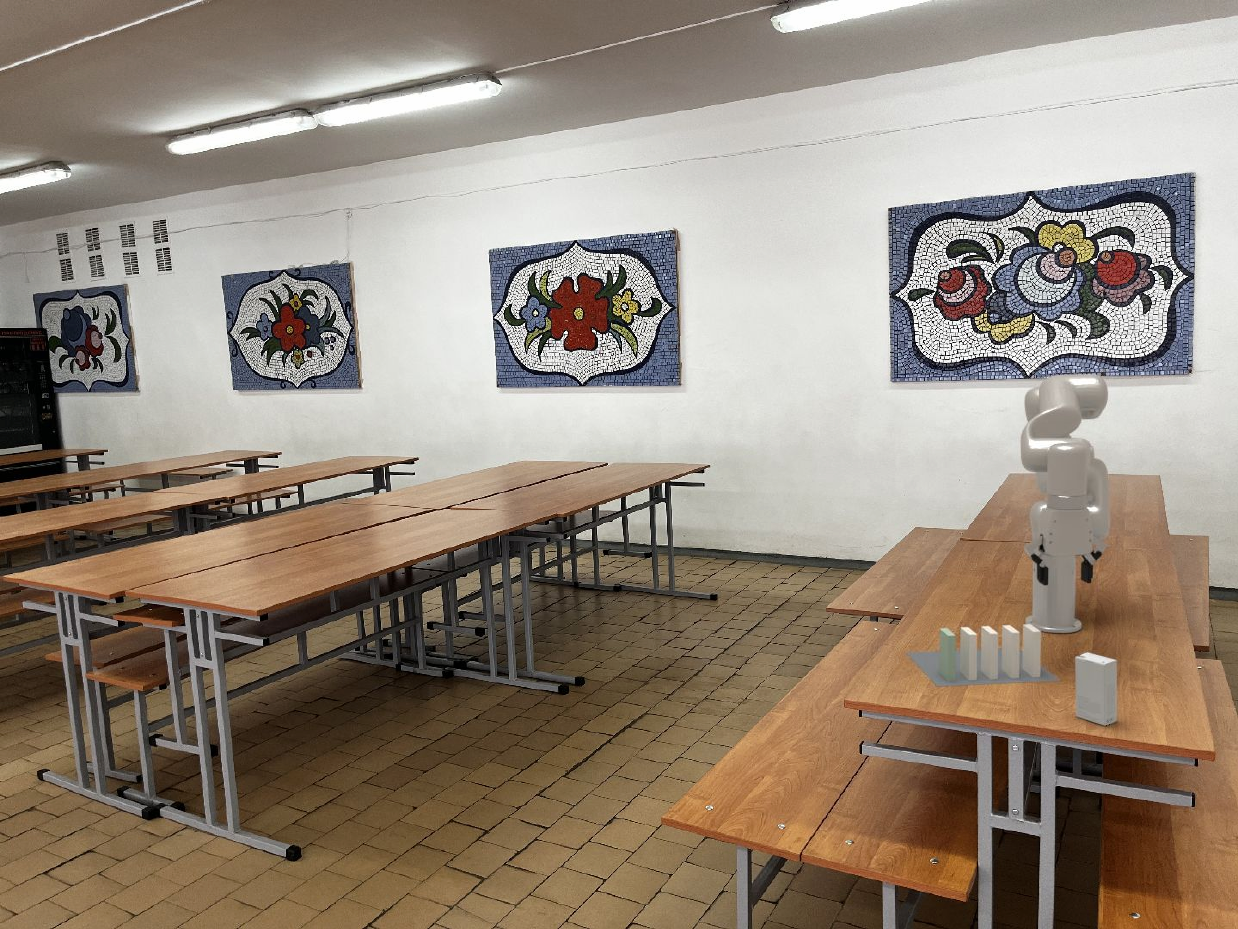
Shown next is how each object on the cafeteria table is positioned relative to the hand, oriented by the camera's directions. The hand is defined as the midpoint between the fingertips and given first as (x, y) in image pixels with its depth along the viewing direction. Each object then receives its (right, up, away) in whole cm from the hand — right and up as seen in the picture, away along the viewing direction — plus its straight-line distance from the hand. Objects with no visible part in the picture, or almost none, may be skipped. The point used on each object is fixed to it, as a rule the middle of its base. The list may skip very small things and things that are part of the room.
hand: (1064, 582), depth 198 cm
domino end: (-24, -21, +3) cm, 32 cm away
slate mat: (-15, -20, +8) cm, 26 cm away
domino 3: (-10, -20, +3) cm, 23 cm away
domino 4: (-6, -20, +3) cm, 21 cm away
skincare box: (-4, -24, -21) cm, 31 cm away
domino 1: (-19, -20, +3) cm, 28 cm away
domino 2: (-15, -20, +3) cm, 25 cm away
